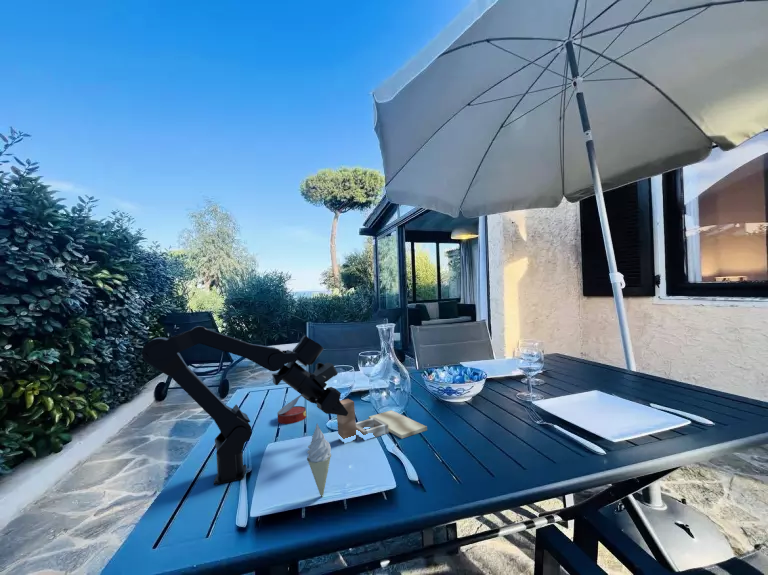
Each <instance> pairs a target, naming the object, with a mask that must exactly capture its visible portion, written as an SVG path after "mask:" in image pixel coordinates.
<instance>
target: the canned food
mask: <svg viewBox="0 0 768 575" xmlns="http://www.w3.org/2000/svg"><path fill="white" fill-rule="evenodd" d="M300 398H302V396H301V394H299V396H297V397H296V398H294V399H292V400H291V401H290V402H287V403H286V404H285V405H283V407H282V408H281V409H279V411H278V412H277V413H276V414H277V422H278V423H279V424H281V425H290V424H296V423H299V422H301V421H304V420H305V419H306V418H307V410H306V407H305V406H301V405H297V406H296V404H297V403H298V401H299V400H300Z"/></svg>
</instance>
